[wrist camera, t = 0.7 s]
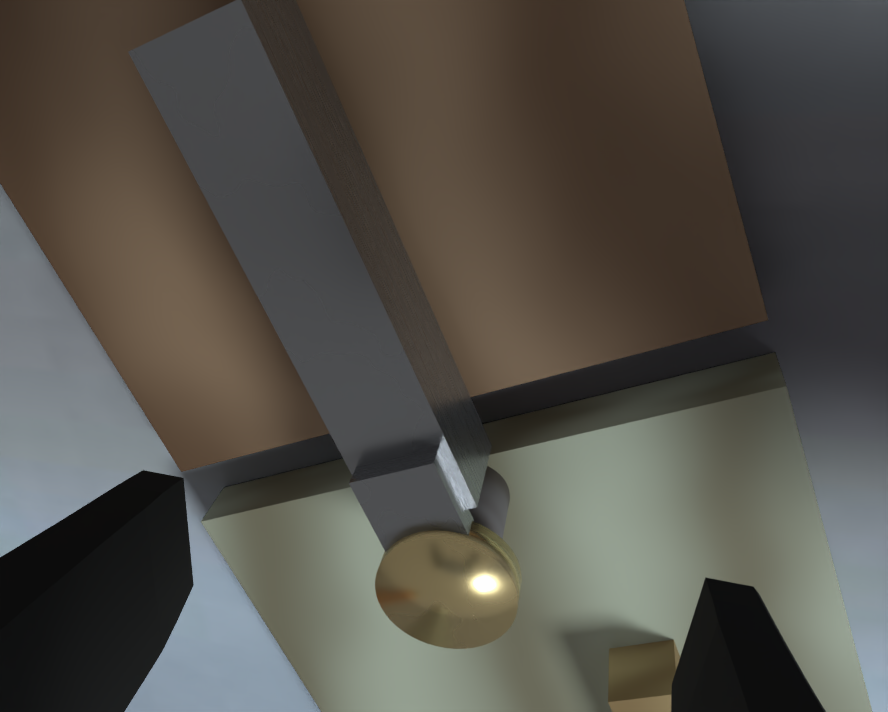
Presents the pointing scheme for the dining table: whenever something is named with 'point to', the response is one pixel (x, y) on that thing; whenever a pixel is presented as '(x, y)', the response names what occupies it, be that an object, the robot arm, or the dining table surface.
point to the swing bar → (341, 305)
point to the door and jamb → (458, 335)
